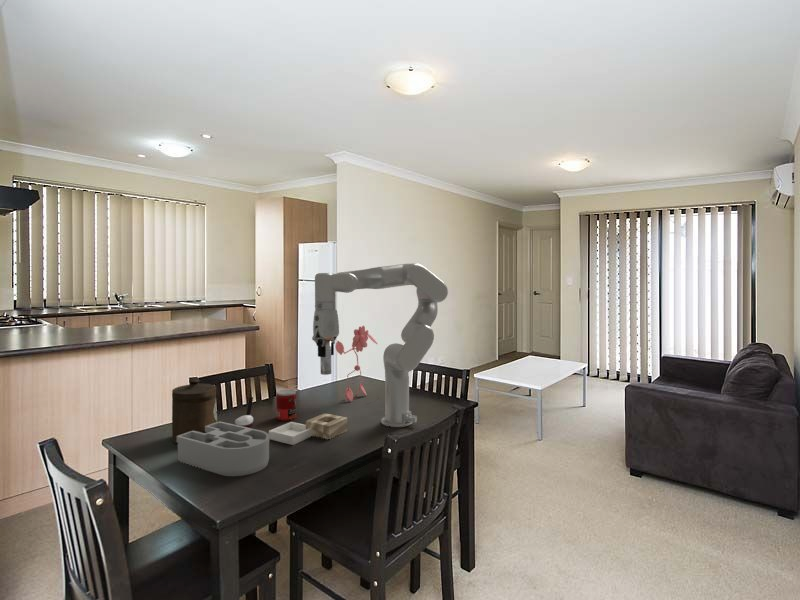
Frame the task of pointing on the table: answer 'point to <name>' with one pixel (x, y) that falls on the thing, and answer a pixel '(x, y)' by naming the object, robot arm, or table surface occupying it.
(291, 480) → the table surface
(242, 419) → the white oval with stem
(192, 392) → the wooden container
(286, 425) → the tray
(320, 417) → the socket block
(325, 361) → the steel pin
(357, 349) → the pink stick figure
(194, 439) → the grey compartment organizer
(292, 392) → the canned food
